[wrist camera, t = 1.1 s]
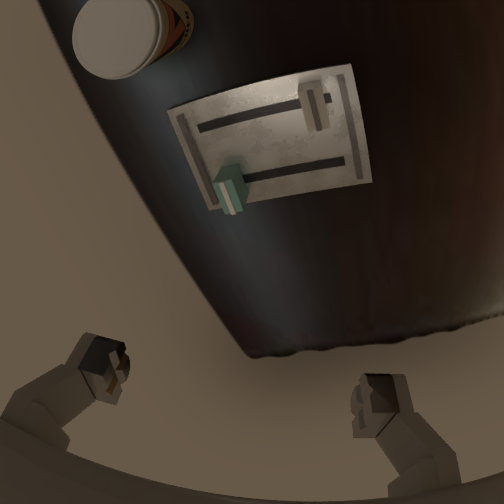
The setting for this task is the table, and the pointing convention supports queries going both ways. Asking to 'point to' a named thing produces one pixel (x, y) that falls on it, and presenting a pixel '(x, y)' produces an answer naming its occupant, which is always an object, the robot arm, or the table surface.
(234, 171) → the fader
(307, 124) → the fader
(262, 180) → the console
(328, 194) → the table surface
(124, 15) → the coffee cup
